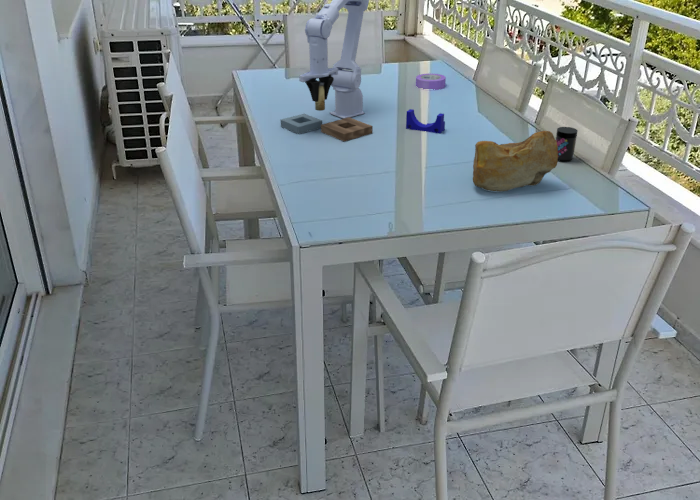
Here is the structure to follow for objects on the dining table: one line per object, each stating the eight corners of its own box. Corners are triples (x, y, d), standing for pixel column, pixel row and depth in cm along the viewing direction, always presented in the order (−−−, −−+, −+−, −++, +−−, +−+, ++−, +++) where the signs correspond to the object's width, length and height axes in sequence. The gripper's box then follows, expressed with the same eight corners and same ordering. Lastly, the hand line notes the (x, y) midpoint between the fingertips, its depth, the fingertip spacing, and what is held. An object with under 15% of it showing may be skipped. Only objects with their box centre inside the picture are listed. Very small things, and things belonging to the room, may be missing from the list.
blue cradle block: (444, 130, 233) (445, 112, 230) (440, 134, 230) (441, 116, 227) (410, 125, 238) (411, 107, 235) (405, 129, 234) (406, 111, 231)
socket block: (348, 124, 238) (348, 117, 237) (372, 133, 230) (372, 126, 229) (321, 132, 231) (320, 124, 230) (344, 141, 223) (344, 134, 222)
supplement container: (551, 155, 212) (555, 126, 208) (571, 155, 212) (575, 127, 207) (554, 162, 207) (558, 132, 203) (574, 163, 207) (579, 133, 202)
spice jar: (320, 107, 232) (320, 80, 228) (327, 109, 230) (326, 81, 226) (313, 109, 230) (312, 81, 226) (319, 111, 228) (318, 83, 224)
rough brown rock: (535, 170, 204) (538, 119, 198) (561, 188, 189) (565, 134, 183) (458, 178, 201) (459, 127, 195) (478, 197, 186) (479, 142, 180)
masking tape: (412, 89, 276) (413, 79, 274) (418, 81, 286) (419, 72, 284) (442, 91, 273) (442, 81, 271) (447, 83, 283) (448, 74, 281)
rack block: (304, 120, 242) (304, 113, 240) (322, 127, 235) (322, 120, 234) (280, 126, 236) (280, 119, 235) (298, 134, 229) (298, 126, 228)
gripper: (308, 64, 215) (309, 107, 222) (344, 56, 224) (344, 98, 230) (294, 59, 220) (296, 102, 226) (330, 52, 228) (330, 93, 235)
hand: (319, 100), depth 229 cm, fingers closed on spice jar, 3 cm apart
